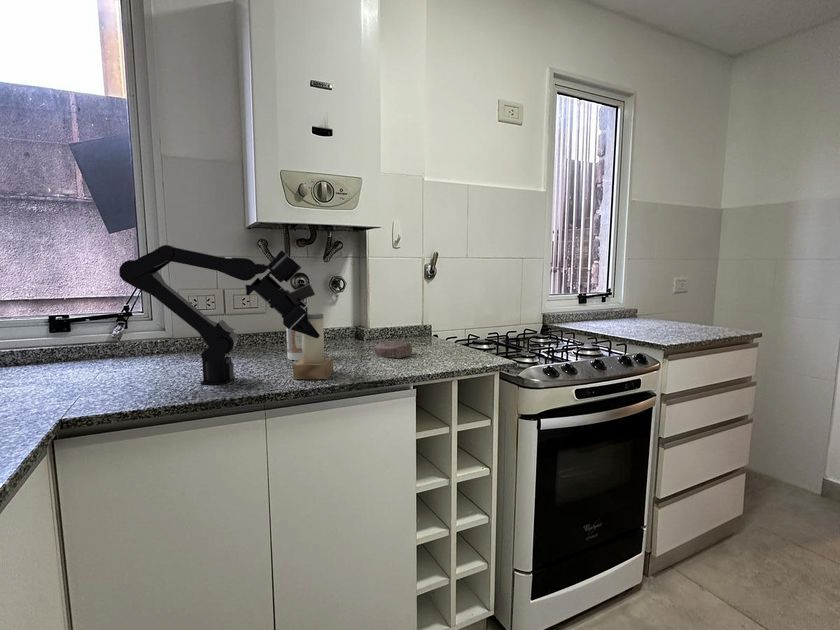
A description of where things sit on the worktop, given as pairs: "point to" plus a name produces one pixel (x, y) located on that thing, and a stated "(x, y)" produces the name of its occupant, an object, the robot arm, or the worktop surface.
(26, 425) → the worktop surface
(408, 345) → the stone
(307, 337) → the tea tin
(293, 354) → the bath foam
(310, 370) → the walnut box
